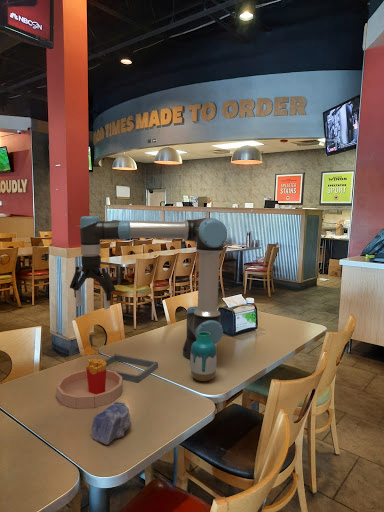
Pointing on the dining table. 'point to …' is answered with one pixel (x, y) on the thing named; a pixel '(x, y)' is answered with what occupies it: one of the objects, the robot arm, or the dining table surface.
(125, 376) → the gray square frame
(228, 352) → the dining table surface
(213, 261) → the robot arm
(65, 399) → the bowl
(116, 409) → the mineral
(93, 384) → the french fries
